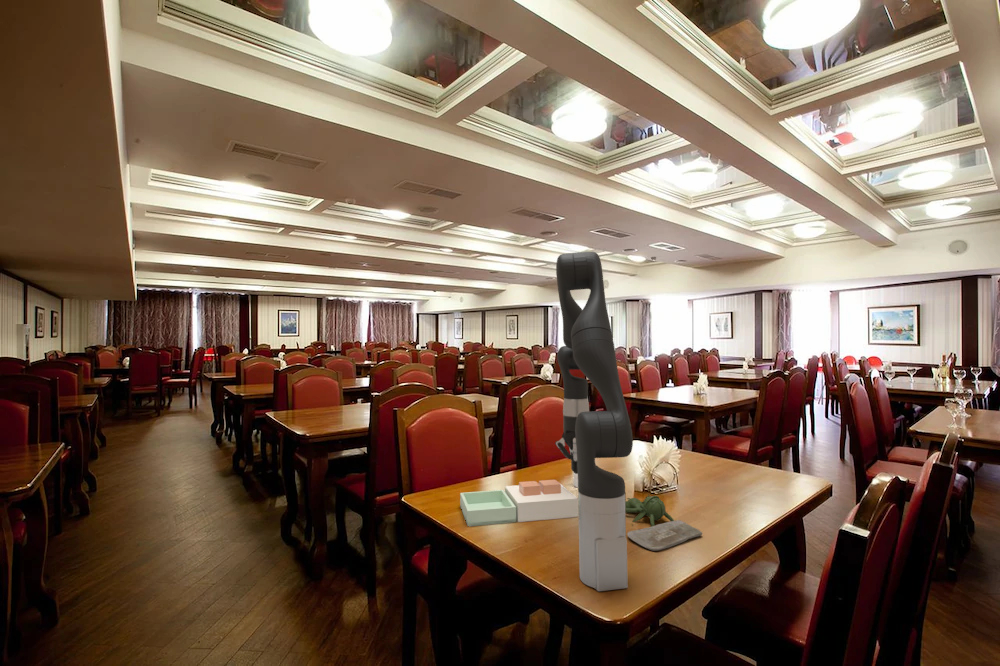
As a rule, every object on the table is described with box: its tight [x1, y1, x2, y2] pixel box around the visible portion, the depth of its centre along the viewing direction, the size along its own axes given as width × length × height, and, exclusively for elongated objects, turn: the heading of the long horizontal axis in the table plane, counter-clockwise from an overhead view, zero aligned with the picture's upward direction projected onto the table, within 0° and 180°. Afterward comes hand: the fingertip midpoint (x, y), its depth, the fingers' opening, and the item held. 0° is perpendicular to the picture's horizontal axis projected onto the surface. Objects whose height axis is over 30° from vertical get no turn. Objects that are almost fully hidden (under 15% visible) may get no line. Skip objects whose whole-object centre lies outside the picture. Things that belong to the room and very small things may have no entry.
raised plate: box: [504, 483, 579, 523], centre depth 134 cm, size 16×17×5 cm
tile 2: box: [538, 479, 561, 494], centre depth 135 cm, size 5×5×2 cm
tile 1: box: [518, 480, 541, 496], centre depth 134 cm, size 5×5×2 cm
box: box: [459, 489, 517, 527], centre depth 131 cm, size 16×13×4 cm
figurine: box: [625, 492, 675, 527], centre depth 129 cm, size 11×8×19 cm
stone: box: [626, 519, 703, 552], centre depth 113 cm, size 18×3×10 cm
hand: (576, 472), depth 137 cm, fingers closed
